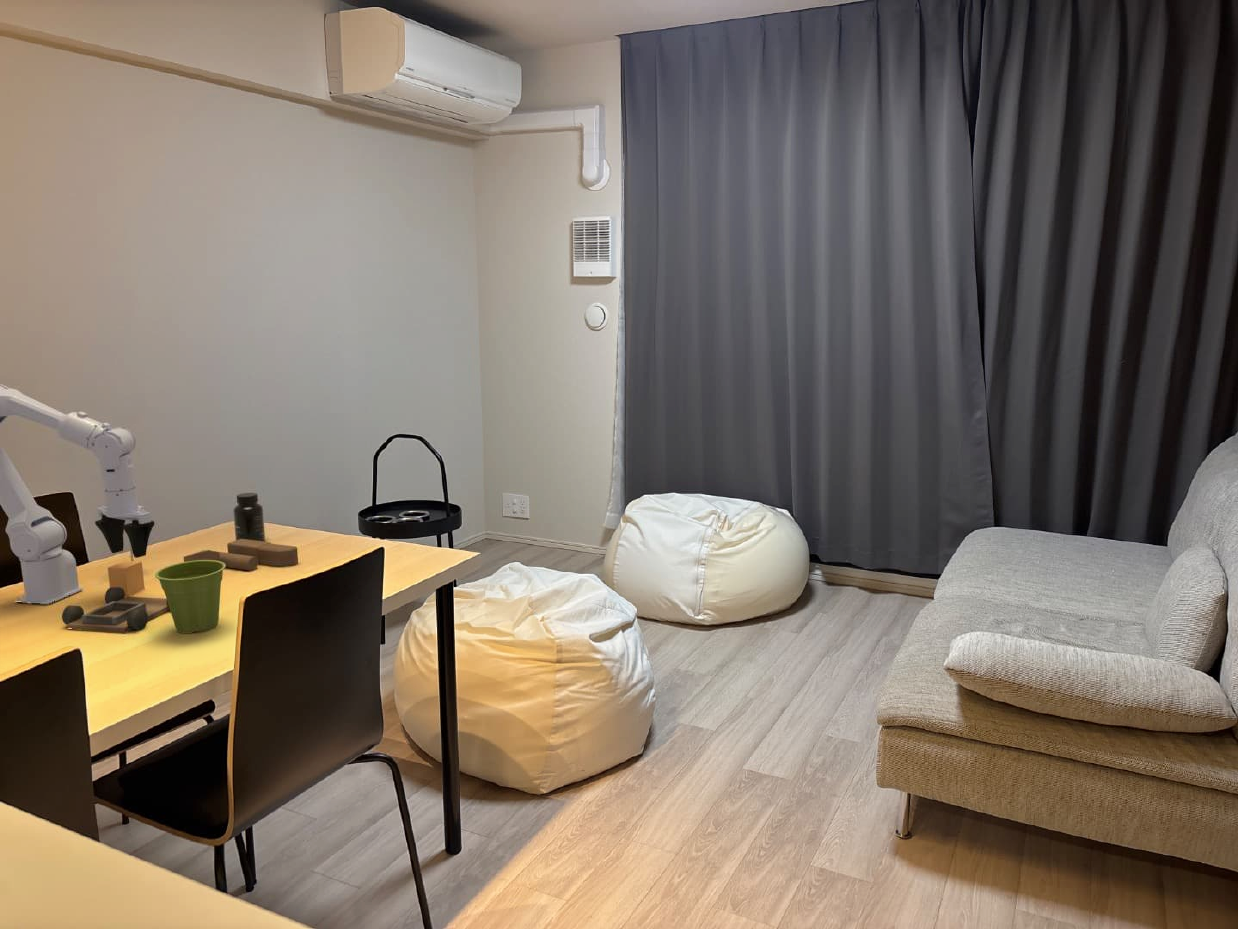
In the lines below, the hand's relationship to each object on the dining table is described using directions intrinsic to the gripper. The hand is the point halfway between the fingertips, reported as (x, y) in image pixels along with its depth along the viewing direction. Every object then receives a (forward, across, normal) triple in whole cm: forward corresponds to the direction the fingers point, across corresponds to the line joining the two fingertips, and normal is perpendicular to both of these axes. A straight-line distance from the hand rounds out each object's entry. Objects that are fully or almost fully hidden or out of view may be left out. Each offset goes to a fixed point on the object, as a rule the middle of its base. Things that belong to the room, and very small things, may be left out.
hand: (128, 554), depth 188 cm
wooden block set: (+10, -4, -23) cm, 26 cm away
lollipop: (+9, +15, -10) cm, 20 cm away
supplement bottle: (+9, +14, -40) cm, 43 cm away
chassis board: (+9, -10, +8) cm, 16 cm away
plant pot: (+10, -27, +6) cm, 29 cm away
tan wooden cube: (+9, +4, -1) cm, 10 cm away
